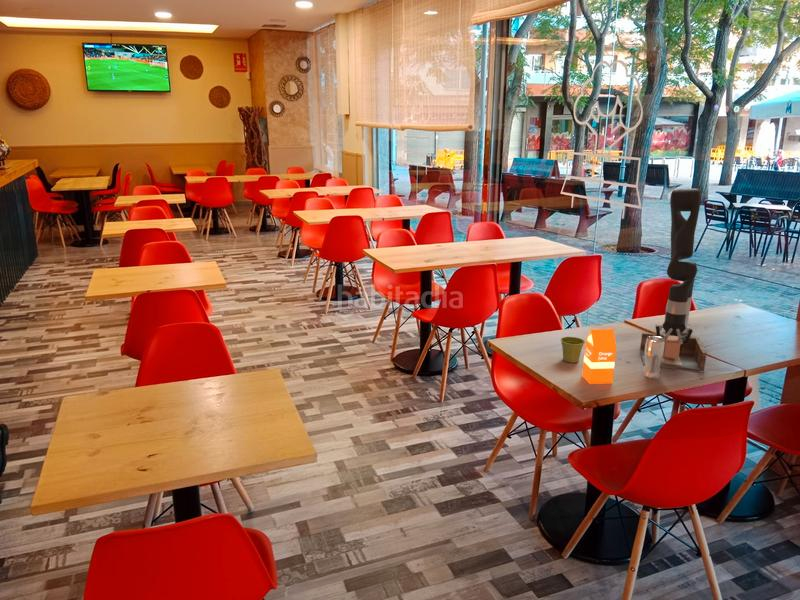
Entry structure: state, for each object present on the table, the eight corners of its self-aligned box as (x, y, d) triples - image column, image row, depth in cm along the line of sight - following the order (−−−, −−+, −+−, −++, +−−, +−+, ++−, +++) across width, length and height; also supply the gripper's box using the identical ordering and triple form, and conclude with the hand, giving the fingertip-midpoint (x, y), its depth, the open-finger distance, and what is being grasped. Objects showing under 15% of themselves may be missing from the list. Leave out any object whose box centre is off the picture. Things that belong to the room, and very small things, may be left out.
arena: (639, 350, 262) (642, 332, 259) (696, 355, 256) (698, 337, 253) (643, 365, 245) (645, 346, 243) (703, 372, 239) (706, 352, 237)
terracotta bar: (678, 358, 243) (680, 344, 242) (664, 357, 245) (666, 342, 243) (675, 349, 252) (677, 336, 251) (662, 348, 254) (664, 334, 252)
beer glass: (646, 370, 240) (651, 334, 236) (664, 375, 235) (669, 338, 231) (638, 375, 235) (642, 338, 231) (656, 380, 231) (661, 343, 226)
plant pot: (555, 356, 254) (557, 336, 251) (577, 355, 255) (579, 336, 252) (563, 365, 245) (565, 344, 242) (586, 364, 246) (588, 344, 243)
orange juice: (612, 383, 228) (618, 332, 222) (589, 384, 227) (594, 332, 222) (604, 375, 236) (609, 325, 230) (581, 375, 235) (586, 326, 229)
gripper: (657, 311, 242) (652, 352, 247) (697, 315, 238) (691, 356, 243) (655, 306, 249) (650, 346, 254) (694, 310, 245) (688, 350, 250)
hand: (670, 351), depth 248 cm, fingers closed on terracotta bar, 5 cm apart
